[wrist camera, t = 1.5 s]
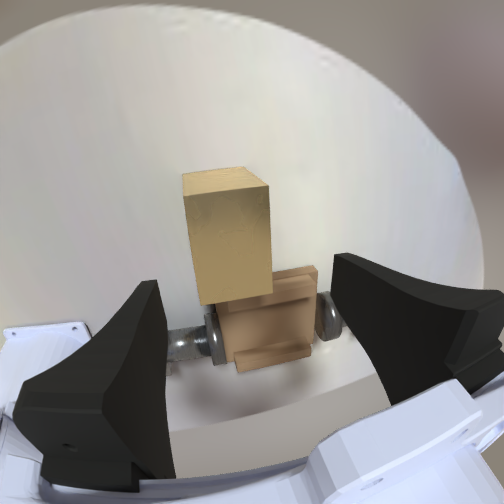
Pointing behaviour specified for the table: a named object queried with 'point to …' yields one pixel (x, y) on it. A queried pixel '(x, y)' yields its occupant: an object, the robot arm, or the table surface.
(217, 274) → the block
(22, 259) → the table surface
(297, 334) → the shaft stand
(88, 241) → the table surface
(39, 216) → the table surface
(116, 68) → the table surface
